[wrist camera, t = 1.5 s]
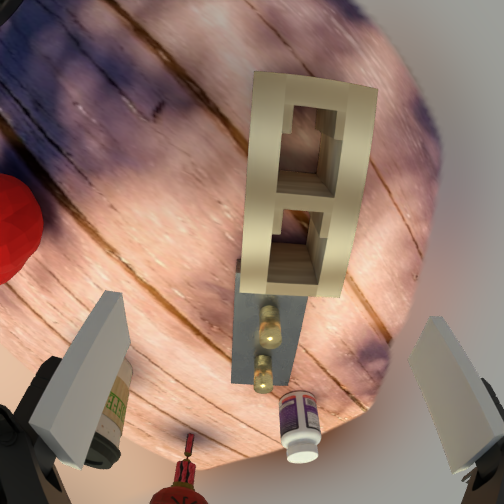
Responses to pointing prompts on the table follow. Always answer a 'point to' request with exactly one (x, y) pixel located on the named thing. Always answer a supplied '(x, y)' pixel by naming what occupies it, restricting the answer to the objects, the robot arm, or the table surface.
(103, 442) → the coffee cup
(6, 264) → the tomato
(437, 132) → the table surface
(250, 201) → the cinder block
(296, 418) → the pill bottle
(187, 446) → the lantern
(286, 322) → the post rail
